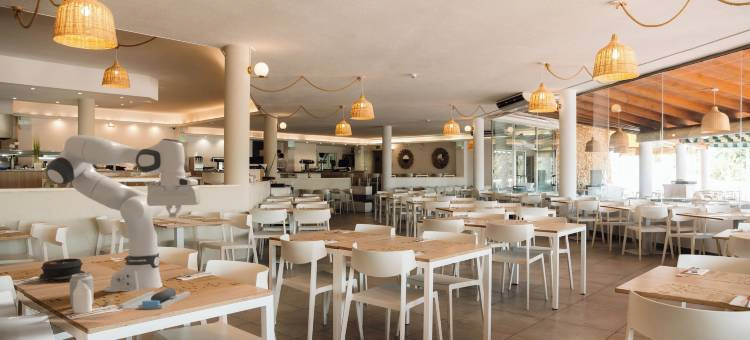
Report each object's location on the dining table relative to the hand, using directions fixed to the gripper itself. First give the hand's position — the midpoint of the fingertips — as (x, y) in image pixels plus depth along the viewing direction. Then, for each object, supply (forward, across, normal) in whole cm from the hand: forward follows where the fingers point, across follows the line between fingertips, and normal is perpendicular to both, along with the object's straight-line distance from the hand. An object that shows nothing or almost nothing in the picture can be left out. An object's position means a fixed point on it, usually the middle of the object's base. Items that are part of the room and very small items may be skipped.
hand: (174, 217), depth 196 cm
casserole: (+31, -77, +37) cm, 91 cm away
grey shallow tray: (+31, -4, -7) cm, 32 cm away
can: (+31, -30, -12) cm, 45 cm away
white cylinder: (+31, -23, -21) cm, 44 cm away
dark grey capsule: (+30, -1, -8) cm, 31 cm away
